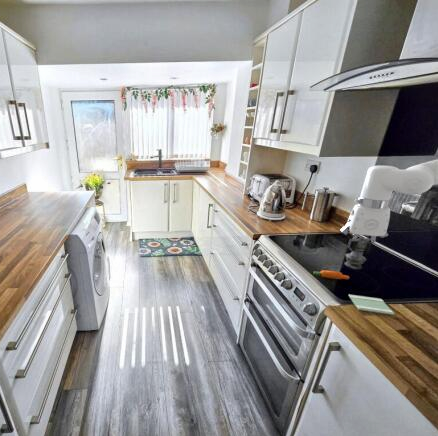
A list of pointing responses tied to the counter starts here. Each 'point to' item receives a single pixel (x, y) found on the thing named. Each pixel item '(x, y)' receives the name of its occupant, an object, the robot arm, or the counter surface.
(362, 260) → the grey chess piece
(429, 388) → the counter surface
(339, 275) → the carrot
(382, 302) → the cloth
